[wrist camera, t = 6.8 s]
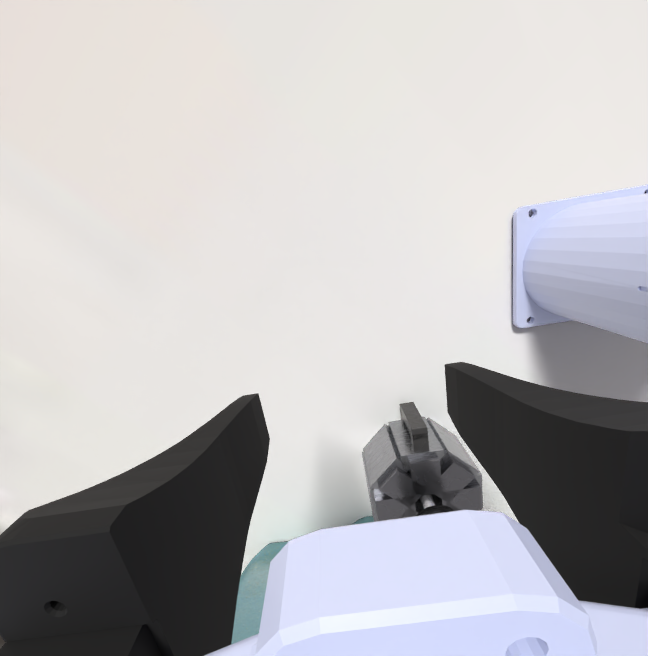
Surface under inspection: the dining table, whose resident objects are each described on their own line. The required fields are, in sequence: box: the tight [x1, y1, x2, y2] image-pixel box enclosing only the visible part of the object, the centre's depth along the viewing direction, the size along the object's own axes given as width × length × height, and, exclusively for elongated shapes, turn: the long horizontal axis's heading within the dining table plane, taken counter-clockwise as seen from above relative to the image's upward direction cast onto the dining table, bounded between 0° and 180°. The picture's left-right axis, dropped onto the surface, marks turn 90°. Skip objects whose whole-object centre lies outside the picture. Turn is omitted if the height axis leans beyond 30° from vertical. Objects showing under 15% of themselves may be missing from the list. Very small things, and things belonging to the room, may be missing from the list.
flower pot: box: [231, 542, 288, 644], centre depth 23 cm, size 9×9×9 cm
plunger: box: [416, 494, 455, 516], centre depth 21 cm, size 3×3×6 cm
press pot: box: [362, 402, 483, 522], centre depth 22 cm, size 8×9×4 cm
